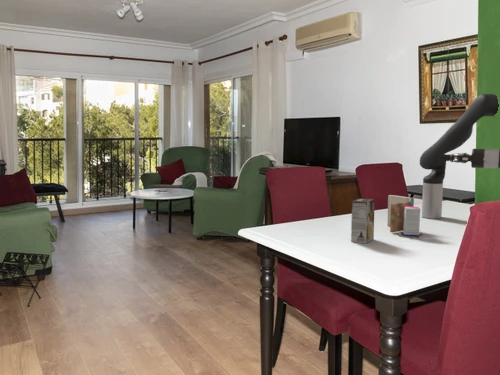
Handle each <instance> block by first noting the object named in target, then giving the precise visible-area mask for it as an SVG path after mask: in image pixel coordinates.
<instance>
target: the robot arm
mask: <svg viewBox="0 0 500 375" xmlns="http://www.w3.org/2000/svg"><path fill="white" fill-rule="evenodd" d="M494 94H495V93H482V94H479V95H478V96H477V97H476V98H475V99H474V100H473V101H472V103H471V104H470V105H469V106H468V108H467V109H466V110H465V112H463V114H462V115H461V116H460V117H459V118H458V119H457V120H455V122H454V123H453V124H452V125H451V126H450V127H449V128H448V129H447V130H446V131H445V133H444V134H442V135H441V137H440V138H439V139H438V140H437V141H435V142H434V144H432V145H431V146H429V147H428V148H427V149H425V151H423V152H422V154H421V155H420V158H419V166H420V167H421V168H422V169H424V170H431V172H430V173H429V174H428V175H425V176H424V177H423V178H422V202H421V217H422V218H425V219H435V220H436V219H441V218H442V214H443V212H442V211H443V191H444V190H443V189H444V180H445V176H446V167H447V162H451V163H457V164H459V163H461V164H466V163H469V162H470V163H471V168H474V169H500V149H497V148H472V149H471V154H469V153H467V152H461V153H459V152H457V153H452V154H451V153H450V152H452V151H455V150H456V149H458V148H460V147H461V146H463V145H464V144H465V143H466V142H467V141H468V140H469V139H470V138H471V136H472V135H473V129H474V128H473V127H474V125H475V124H476V123H477V122H478V121H479V120H480V119H482V118H483V117H495V116H494V115H495V114H496V113H497V111H498V107H499V104H498V99H497V96H496V95H494ZM447 153H450V154H447Z"/></svg>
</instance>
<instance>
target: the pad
mask: <svg viewBox="0 0 500 375" xmlns="http://www.w3.org/2000/svg"><path fill="white" fill-rule="evenodd" d="M422 235H423V233H419V236H404V234H403V231H401V232H400V234H399V235H398V237H403V238H411V239H413V238H414V239H421V237H422Z"/></svg>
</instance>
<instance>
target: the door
mask: <svg viewBox="0 0 500 375" xmlns="http://www.w3.org/2000/svg"><path fill="white" fill-rule="evenodd" d="M405 206H408V207H410V202H402V203H394V204H391V219H390V226H389V233H397V232H403V225H404V207H405Z"/></svg>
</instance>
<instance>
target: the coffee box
mask: <svg viewBox="0 0 500 375" xmlns="http://www.w3.org/2000/svg"><path fill="white" fill-rule="evenodd" d="M350 225H351V228H350V230H351V233H350V242H351V243H357V244H364V245H365V244H369V243H370V242H371V241H373V240H374V238H375V235H374V234H375V199H373V198H357V199H354V200H352V201H351V224H350Z"/></svg>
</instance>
